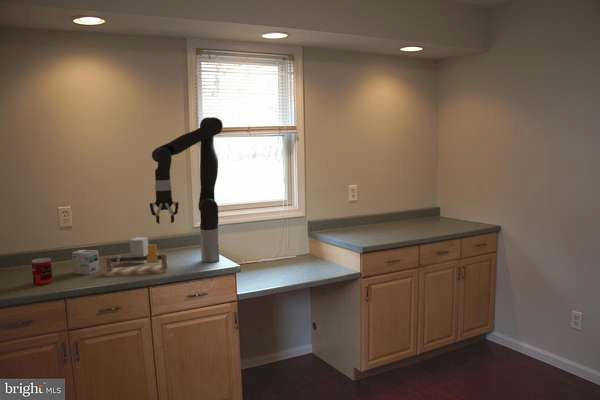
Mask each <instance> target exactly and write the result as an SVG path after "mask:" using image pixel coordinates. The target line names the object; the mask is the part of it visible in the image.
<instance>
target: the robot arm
mask: <svg viewBox="0 0 600 400" xmlns="http://www.w3.org/2000/svg"><path fill="white" fill-rule="evenodd" d="M223 128H224V125H223V121H222V120H221V119H220V118H218V117H214V116H212V117H209V116H207V117H204V118H202V119H201V121H200V124H199V128H197V129H195V130H192V131H189V132H187V133H185V134H181V135H180V136H178V137H176V138H175V139H173V140H171V141H170V142H168V143H165V144H163V145H161V146H158V147H156V148H155V149H154V150H153V151H152V153H151V158H152V161H154V162H156V163H157V168H156V169H154V170H155V171H154V179H155V180H154V182H155V183H154V184H155V185H154V190H155V201H154V202H150V203H149V208H150V212H151V216H153V217H154V216H155V221H156V224H158V225H159V224H161V223H160V222H161V221H160V220H161V219H160V212H161V211H168V212H169V214H170V224H173V223H174V222H175V215H177V214H178V212H179V203H180V202H179V201H173V194H172V193H173V192H172V181H171V166H172V161H173V160H172V156H176V155H180V153H182V152H184V151H186V150H187V149H189V148H191V147H193V146H195V145H196V144H198V143H200V163H199V182H200V191H199V192H200V193H199V199H198V211H199V212H200V213H199V214H200V223H199V232H200V233H199V235H200V252H201V253H200V255H201V262H202V263H216V262H220V245H219V207H218V203H217V202H216V200H215V186H216V182H217V178H218V174H219V159H218V156H217V152H216V150H215V145H214V139H215V136H217V135H219V134H221V132H222V131H223ZM173 205H174V207H175V208H174V211H173V209H172V206H173ZM155 206H156V207H157V210H156V212H155Z"/></svg>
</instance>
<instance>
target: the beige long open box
mask: <svg viewBox="0 0 600 400" xmlns="http://www.w3.org/2000/svg"><path fill="white" fill-rule="evenodd" d="M157 257H158V260H161V265H143V266H140V265H139V266H126V267H113V265H114V264H113V263H116V264H117V265H120V264H121V263H123V262H131V261H143V260H147V256H136V257H131V256H121V254H118V255H117V256H116V257H113V256H111V255H109V256H107V257H106V258H105V260H106V272H105V277H113V276H127V275H128V276H129V275H131V276H132V275H143V274H144V275H145V274H160V273H161V274H163V273H167V271H168V268H169V264H168V261H167V259H168V258H167V257H168V255H167V253H161V254H158V255H157Z"/></svg>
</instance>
